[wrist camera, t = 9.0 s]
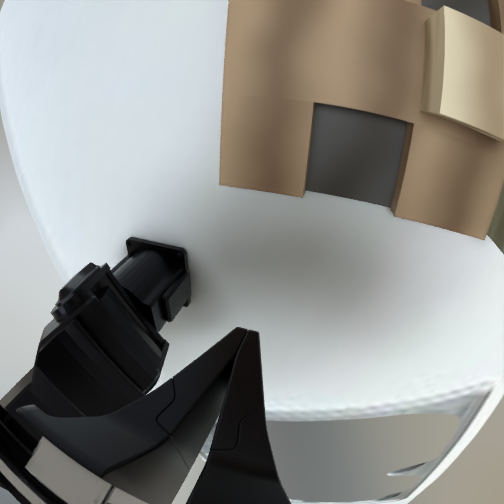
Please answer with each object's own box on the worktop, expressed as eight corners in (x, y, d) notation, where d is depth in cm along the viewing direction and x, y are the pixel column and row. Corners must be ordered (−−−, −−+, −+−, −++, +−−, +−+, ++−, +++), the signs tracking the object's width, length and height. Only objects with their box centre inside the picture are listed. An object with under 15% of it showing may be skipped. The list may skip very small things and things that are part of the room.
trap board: (229, 177, 20) (200, 200, 16) (246, -64, 10) (221, -95, 6) (483, 230, 16) (511, 265, 12) (508, -3, 6) (540, -16, 2)
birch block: (419, 110, 13) (439, 113, 10) (424, 21, 9) (443, 5, 7) (497, 140, 11) (526, 151, 8) (504, 57, 8) (533, 53, 5)
